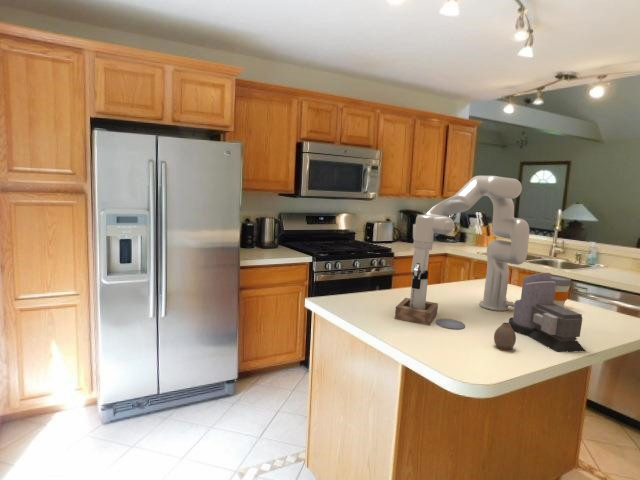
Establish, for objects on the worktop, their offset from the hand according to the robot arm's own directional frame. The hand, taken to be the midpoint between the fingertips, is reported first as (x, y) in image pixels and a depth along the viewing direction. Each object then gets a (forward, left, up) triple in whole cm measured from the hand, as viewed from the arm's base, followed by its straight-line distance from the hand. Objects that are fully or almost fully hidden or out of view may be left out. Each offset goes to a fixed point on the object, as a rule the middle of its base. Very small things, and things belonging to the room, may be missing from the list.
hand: (418, 286), depth 170 cm
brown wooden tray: (0, 0, -13) cm, 13 cm away
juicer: (-47, -6, -13) cm, 49 cm away
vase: (-34, +16, -13) cm, 40 cm away
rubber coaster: (-14, +2, -13) cm, 19 cm away
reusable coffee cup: (-53, -53, -13) cm, 77 cm away
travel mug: (0, 0, -13) cm, 13 cm away
